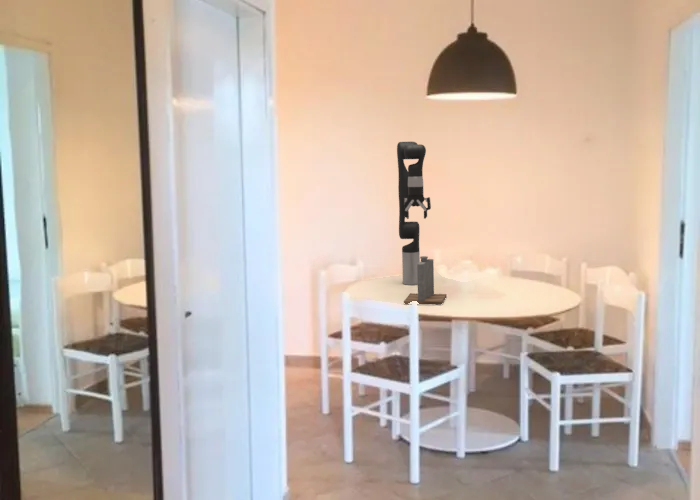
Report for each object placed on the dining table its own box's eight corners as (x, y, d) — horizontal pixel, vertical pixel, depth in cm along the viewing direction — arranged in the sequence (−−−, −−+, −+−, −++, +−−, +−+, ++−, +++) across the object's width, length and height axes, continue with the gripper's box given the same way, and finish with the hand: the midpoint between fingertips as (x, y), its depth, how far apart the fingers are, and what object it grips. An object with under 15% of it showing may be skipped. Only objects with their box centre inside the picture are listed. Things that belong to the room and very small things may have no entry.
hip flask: (423, 301, 376) (422, 259, 373) (415, 300, 377) (414, 258, 374) (434, 294, 390) (434, 254, 387) (427, 293, 392) (426, 253, 389)
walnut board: (410, 296, 395) (410, 293, 394) (446, 297, 390) (446, 294, 390) (403, 304, 377) (403, 301, 377) (441, 305, 373) (441, 301, 373)
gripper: (431, 184, 392) (431, 217, 395) (402, 185, 396) (403, 217, 398) (428, 186, 385) (429, 219, 388) (399, 186, 389) (400, 219, 391)
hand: (416, 218), depth 393 cm, fingers open, 8 cm apart
